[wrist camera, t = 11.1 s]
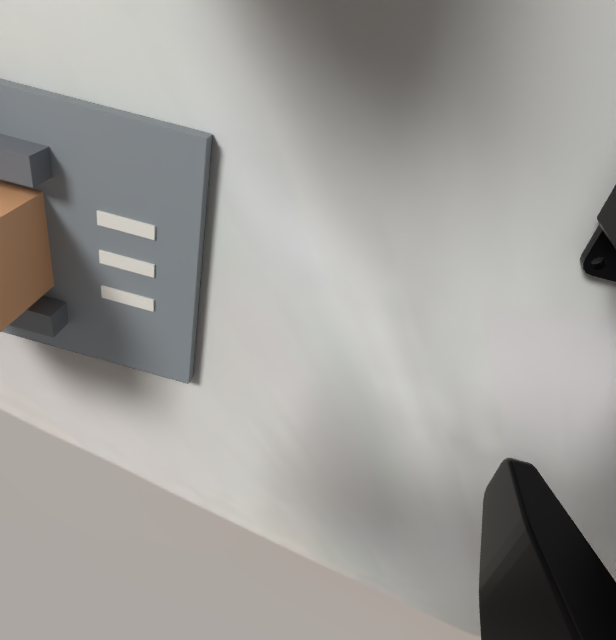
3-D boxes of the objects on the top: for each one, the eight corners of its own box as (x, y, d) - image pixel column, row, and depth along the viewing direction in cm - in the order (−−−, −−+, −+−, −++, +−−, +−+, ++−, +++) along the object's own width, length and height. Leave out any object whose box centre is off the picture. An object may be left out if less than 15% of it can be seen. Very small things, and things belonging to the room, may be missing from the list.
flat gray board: (212, 134, 18) (174, 163, 15) (192, 375, 25) (164, 425, 22) (-153, 38, 19) (-253, 51, 16) (-72, 302, 26) (-131, 342, 23)
